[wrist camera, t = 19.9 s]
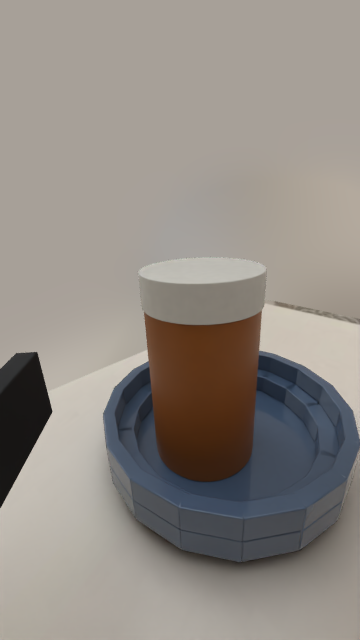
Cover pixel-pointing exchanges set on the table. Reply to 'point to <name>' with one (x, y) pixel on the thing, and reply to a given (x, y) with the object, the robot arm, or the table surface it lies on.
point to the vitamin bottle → (203, 361)
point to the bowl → (253, 479)
